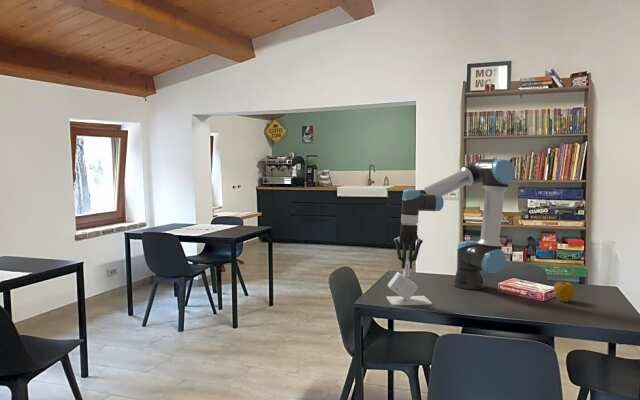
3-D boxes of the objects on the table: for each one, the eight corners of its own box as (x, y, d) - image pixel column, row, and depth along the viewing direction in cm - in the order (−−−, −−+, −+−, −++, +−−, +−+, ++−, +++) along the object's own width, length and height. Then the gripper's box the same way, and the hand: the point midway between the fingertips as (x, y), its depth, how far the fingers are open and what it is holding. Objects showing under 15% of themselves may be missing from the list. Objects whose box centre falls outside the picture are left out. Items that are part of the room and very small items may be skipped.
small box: (416, 284, 217) (397, 270, 217) (418, 287, 212) (399, 273, 211) (405, 297, 218) (387, 284, 217) (407, 301, 212) (388, 288, 212)
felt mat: (424, 297, 222) (424, 295, 222) (432, 304, 210) (432, 303, 210) (386, 297, 220) (386, 296, 220) (392, 305, 208) (392, 304, 208)
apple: (573, 299, 219) (574, 280, 218) (575, 304, 211) (576, 285, 210) (553, 297, 222) (554, 278, 222) (553, 302, 215) (554, 283, 214)
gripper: (421, 223, 217) (418, 274, 219) (392, 222, 216) (389, 273, 217) (426, 225, 209) (423, 278, 211) (396, 224, 208) (393, 277, 210)
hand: (406, 275), depth 214 cm, fingers closed
